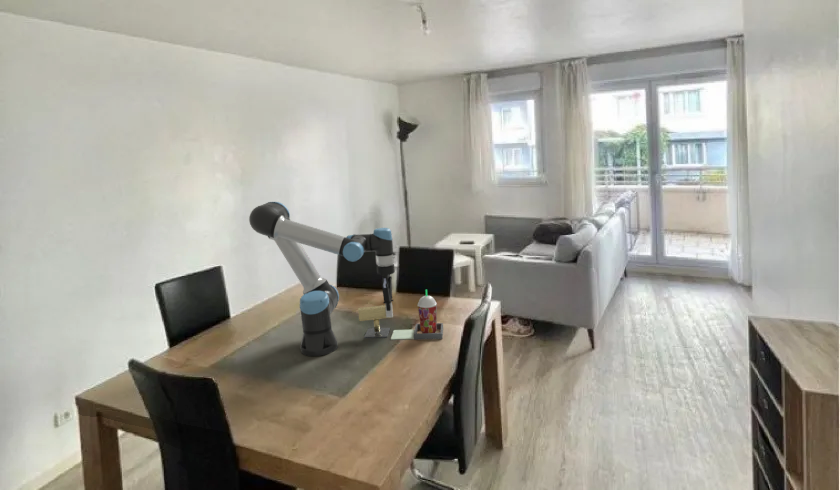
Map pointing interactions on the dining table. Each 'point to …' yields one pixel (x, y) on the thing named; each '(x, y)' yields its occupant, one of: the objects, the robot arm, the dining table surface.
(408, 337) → the mat
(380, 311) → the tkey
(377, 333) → the lock plate
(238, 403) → the dining table surface
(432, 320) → the smoothie
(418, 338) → the socket
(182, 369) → the dining table surface
